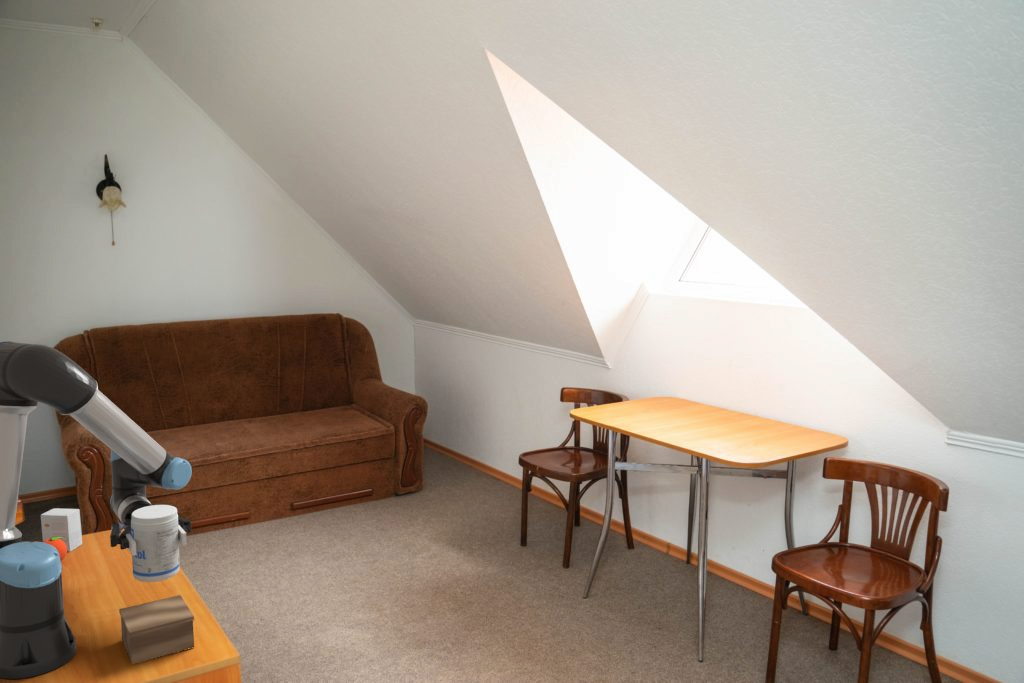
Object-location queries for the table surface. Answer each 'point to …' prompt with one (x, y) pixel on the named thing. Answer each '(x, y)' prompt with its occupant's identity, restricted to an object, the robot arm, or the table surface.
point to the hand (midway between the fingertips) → (160, 544)
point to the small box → (62, 526)
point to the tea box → (157, 628)
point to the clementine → (58, 546)
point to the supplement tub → (155, 543)
